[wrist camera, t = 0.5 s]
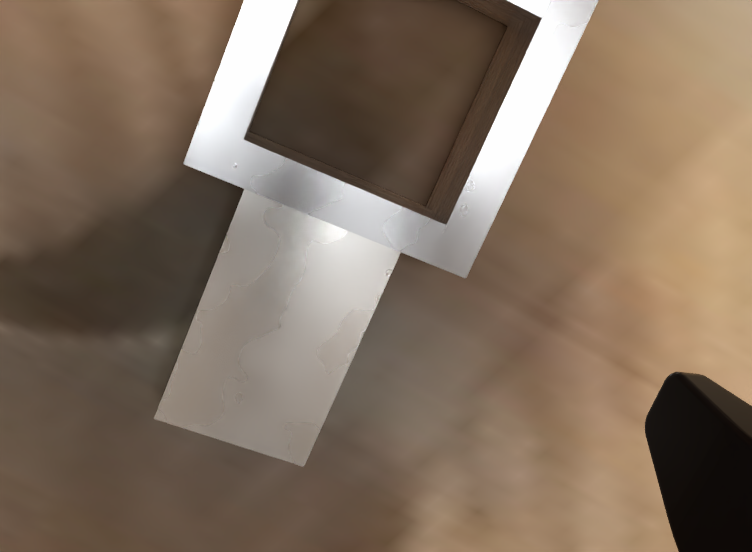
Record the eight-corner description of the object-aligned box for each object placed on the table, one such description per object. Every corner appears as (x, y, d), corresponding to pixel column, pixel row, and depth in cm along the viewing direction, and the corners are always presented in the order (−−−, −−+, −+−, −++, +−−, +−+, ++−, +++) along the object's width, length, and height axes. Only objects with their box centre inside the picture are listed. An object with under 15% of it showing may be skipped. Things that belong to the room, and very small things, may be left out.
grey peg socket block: (347, 458, 25) (356, 508, 22) (110, 381, 23) (85, 424, 20) (687, -271, 20) (755, -330, 17) (421, -445, 18) (446, -544, 15)
